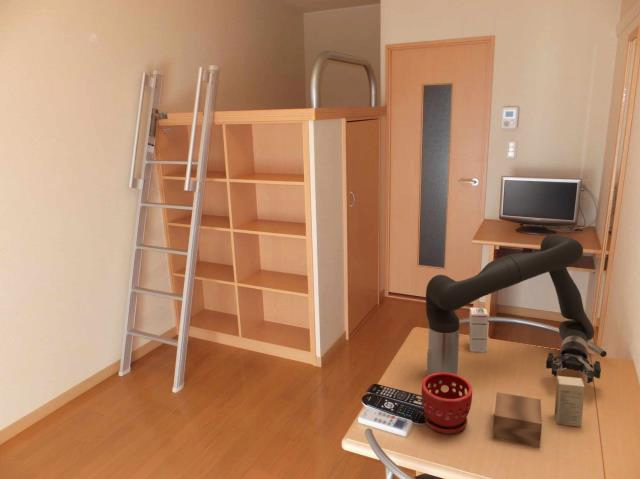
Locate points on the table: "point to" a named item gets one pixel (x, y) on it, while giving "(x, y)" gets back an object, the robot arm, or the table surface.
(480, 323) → the syrup box
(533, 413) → the walnut block
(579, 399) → the skincare box
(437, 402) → the plant pot
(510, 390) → the table surface
